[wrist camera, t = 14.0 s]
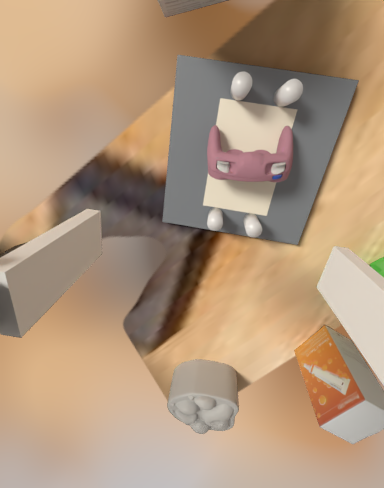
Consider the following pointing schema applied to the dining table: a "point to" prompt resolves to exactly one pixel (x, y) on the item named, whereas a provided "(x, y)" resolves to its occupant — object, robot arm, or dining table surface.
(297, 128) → the docking tray
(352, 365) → the small box
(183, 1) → the supplement box
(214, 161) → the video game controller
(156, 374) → the dining table surface
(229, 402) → the lumpy-topped squat cylinder
